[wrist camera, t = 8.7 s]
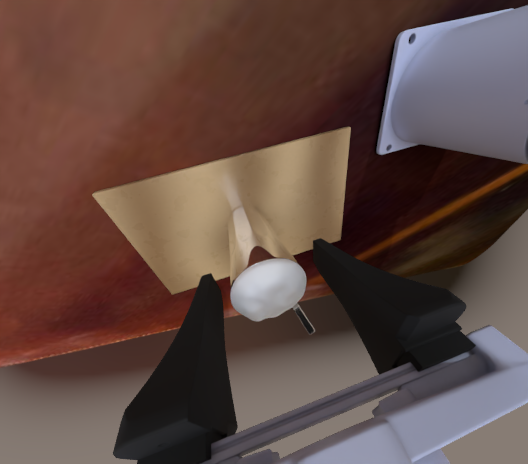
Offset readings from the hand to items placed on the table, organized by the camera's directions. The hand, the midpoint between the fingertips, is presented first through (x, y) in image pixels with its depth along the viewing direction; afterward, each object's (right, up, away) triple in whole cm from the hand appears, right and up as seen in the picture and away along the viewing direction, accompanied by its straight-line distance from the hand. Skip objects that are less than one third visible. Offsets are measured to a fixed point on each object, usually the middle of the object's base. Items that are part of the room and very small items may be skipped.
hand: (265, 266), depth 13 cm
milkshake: (-2, +3, +5) cm, 6 cm away
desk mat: (-2, +4, +5) cm, 6 cm away
